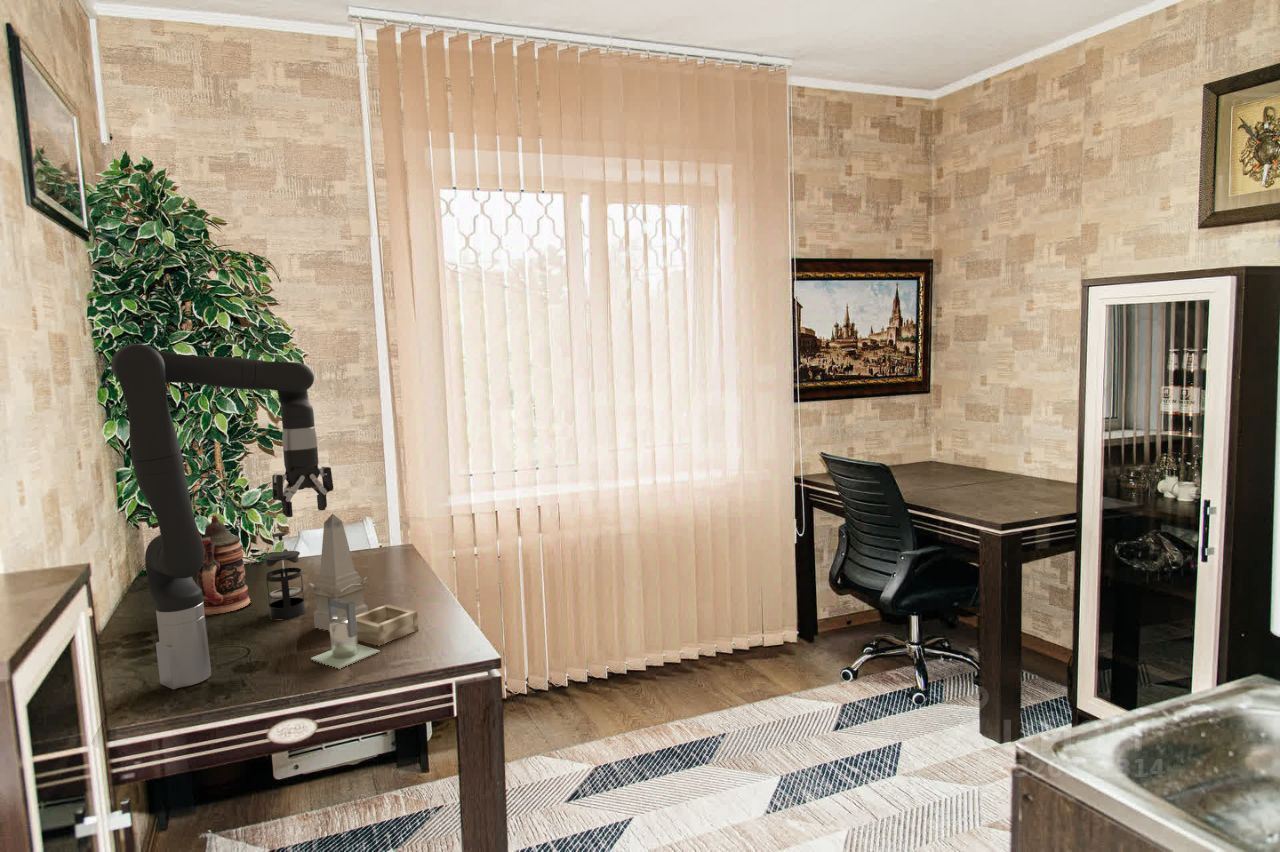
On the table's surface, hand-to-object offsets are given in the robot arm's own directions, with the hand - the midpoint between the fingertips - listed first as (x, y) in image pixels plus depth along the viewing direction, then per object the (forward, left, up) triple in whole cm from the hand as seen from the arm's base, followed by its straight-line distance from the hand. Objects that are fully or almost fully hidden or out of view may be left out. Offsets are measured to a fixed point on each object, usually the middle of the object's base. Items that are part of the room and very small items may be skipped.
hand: (305, 513), depth 190 cm
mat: (0, -11, -34) cm, 35 cm away
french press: (+11, +31, -34) cm, 47 cm away
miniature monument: (+13, +9, -34) cm, 37 cm away
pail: (0, -11, -33) cm, 35 cm away
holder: (+14, -7, -34) cm, 37 cm away
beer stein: (+4, +53, -34) cm, 63 cm away
